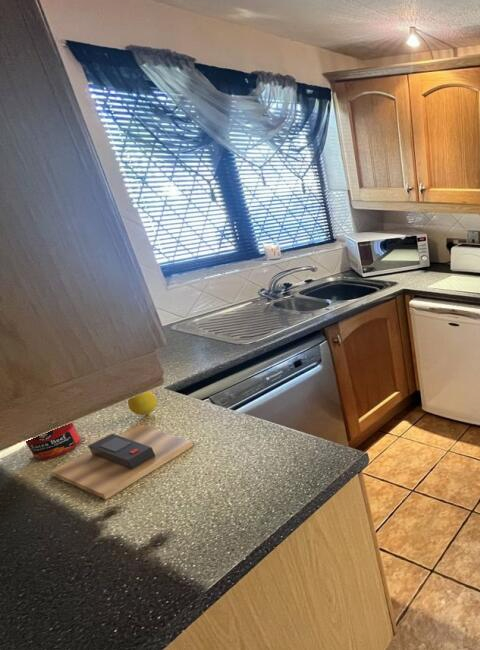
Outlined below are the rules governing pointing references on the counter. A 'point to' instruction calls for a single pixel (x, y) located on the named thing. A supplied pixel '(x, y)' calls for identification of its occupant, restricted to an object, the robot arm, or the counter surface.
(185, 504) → the counter surface
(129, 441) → the remote
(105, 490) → the board
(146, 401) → the lemon
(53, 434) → the canned food
